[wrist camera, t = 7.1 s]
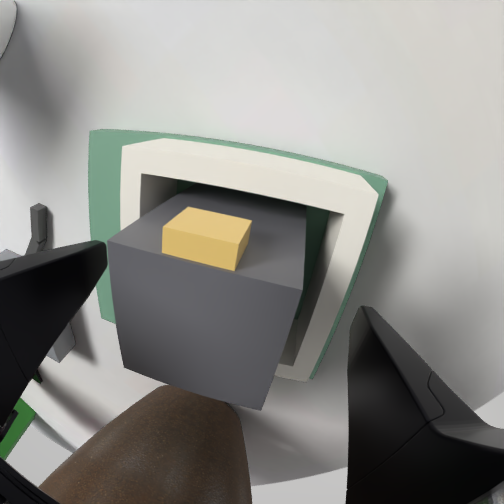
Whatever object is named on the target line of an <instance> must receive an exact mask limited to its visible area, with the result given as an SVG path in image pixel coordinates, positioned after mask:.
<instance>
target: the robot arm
mask: <svg viewBox="0 0 504 504" xmlns="http://www.w3.org/2000/svg"><path fill="white" fill-rule="evenodd" d="M107 265H108V258H107V246H106V244H105V242H102V241H99V240H93V241H88V242H83V243H78V244H74V245H69V246H64V247H60V248H55V249H50V250H46V251H41V252H37V253H33V254H28V255H24V256H20V257H17V258H11V259H7V260H3V261H0V443H1V442H2V440H3V439H4V437H5V436H6V434H7V432H8V430H9V429H10V427H11V425H12V424H13V422H14V420H15V419H16V417H17V415H18V414H19V413H18V412H17V411H16V410H15V409H14V407H15V405H16V403H17V402H18V400H19V398H20V397H21V395H22V393H23V392H24V390H25V388H26V387H27V385H28V383H29V382H30V381H31V379H34V380H35V381H37V382H38V383H40V384H41V382H42V379H41V377H40V375H39V373H38V371H37V369H38V367H39V366H40V364H41V363H42V361H43V360H44V358H45V357H46V355H47V354H48V352H49V351H50V349H51V348H52V346H53V345H54V343H55V342H56V340H57V339H58V338H59V336H60V335H61V333H62V332H63V331H64V329H65V328H66V326H67V325H68V324H69V322H70V321H71V320H72V318H73V317H74V315H75V314H76V313H77V311H78V310H79V309H80V307H81V306H82V305H83V304H84V302H85V301H86V299H87V298H88V297H89V295H90V294H91V292H92V290H93V289H94V287H95V286H96V284H97V282H98V281H99V279H100V278H101V276H102V275H103V273H104V272H105V270H106V268H107ZM347 373H348V410H349V442H348V476H347V491H346V504H504V429H500V428H495V427H493V426H490V425H488V424H487V423H485V422H484V421H483V420H482V419H481V418H480V417H479V416H478V415H477V414H476V413H474V411H472V410H471V409H470V408H469V407H468V406H467V405H466V404H465V403H464V402H463V401H462V400H461V399H460V398H459V397H458V396H457V395H456V394H455V393H454V392H453V391H452V390H451V389H450V388H449V387H448V386H447V385H446V384H445V383H444V382H443V381H442V380H441V379H440V378H439V377H438V376H437V374H436V373H435V372H434V371H432V369H431V368H430V367H429V366H428V365H427V364H426V363H425V361H424V360H423V359H422V358H421V357H420V356H419V355H418V354H417V353H416V352H415V351H414V350H413V349H412V348H411V347H410V346H409V344H408V343H407V342H406V341H405V340H404V339H403V338H402V337H401V336H400V335H399V334H398V333H397V332H396V331H395V330H394V329H393V328H392V327H391V326H390V325H389V324H388V323H387V322H386V321H385V320H384V319H383V318H382V317H381V316H380V315H379V314H378V313H377V312H376V311H375V310H374V309H373V308H372V307H368V306H360V307H359V309H358V311H357V313H356V316H355V318H354V320H353V322H352V325H351V328H350V337H349V353H348V369H347ZM0 504H61V503H60V502H58V501H57V500H55V499H54V498H52V497H51V496H49V495H48V494H46V493H45V492H44V491H42V490H41V489H40V488H38V487H37V486H35V485H34V484H33V483H32V482H30V481H29V480H28V479H26V478H25V477H24V476H23V475H21V474H20V473H19V472H18V471H17V470H15V469H14V468H13V467H12V466H11V465H10V464H8V463H7V462H6V461H5V460H4V459H3V458H2V457H1V456H0Z"/></svg>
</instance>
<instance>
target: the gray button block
mask: <svg viewBox="0 0 504 504" xmlns="http://www.w3.org/2000/svg"><path fill="white" fill-rule="evenodd" d="M30 213H31V232H32V238H31V240H30V243H29V246H28V248H27V251H26V254H25V255H28V254H33V253H37V252H41V251H42V249H43V247H44V245H45V242H46V238H47V226H46V206H44V205H41V204H39V203H38V204H36V205H34V206H32V207H30ZM17 257H20V255H18V254H16V253H14V252H11V251H9V250H7V249H5V250H4V251H2V252H1V253H0V261H3V260H7V259H11V258H17ZM75 344H76V343H75V339H74V336H73V333H72V329H71V326H70V322H69V324H68V325H67V326H66V328H65V329H64V331H63V332H62V333H61V335H60V336H59V338H58V339H57V340H56V342H55V343H54V345H53V346H52V348H51V349H50V351H49V352H48V354H47V356H48V357H50V358H51V359H53V360H55V361H57V362H58V363H60V362H61V361H62V359H63V358H64V357H65V356H66V355H67V354H68V352H69V351H70V350H71V349H72V348H73V347H74V346H75Z"/></svg>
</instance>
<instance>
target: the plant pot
mask: <svg viewBox="0 0 504 504" xmlns="http://www.w3.org/2000/svg"><path fill="white" fill-rule="evenodd" d="M38 488H40V489H41V490H42V491H44V492H45V493H46V494H48V495H49V496H51V497H52V498H54V499H55V500H57V501H58V502H60V503H61V504H252V495H251V486H250V477H249V470H248V463H247V456H246V450H245V444H244V438H243V433H242V428H241V423H240V419H239V417H238V415H237V414H236V413H235V412H234V410H233V409H232V408H231V407H230V406H228V405H227V404H226V403H224V402H223V401H220V400H216V399H213V398H209V397H206V396H203V395H199V394H196V393H193V392H190V391H187V390H184V389H181V388H178V387H175V386H172V385H165V386H161V387H158V388H157V389H155V390H154V391H152V392H151V393H149V394H148V395H146V396H145V397H143V398H142V399H141V400H139V401H138V402H136V403H135V404H134V405H132V406H131V407H129V408H128V409H127V410H126V411H124V412H123V413H122V414H120V415H119V416H118V417H116V418H115V419H114V420H112V421H111V422H110V423H109V424H107V425H106V426H105V427H103V428H102V429H101V430H100V431H99V432H97V433H96V434H95V435H94V436H93V437H91V438H90V439H89V440H88V441H87V442H86V443H85V444H83V445H82V446H81V447H80V448H79V449H78V450H76V451H75V452H74V453H73V454H72V455H71V456H70V457H69V458H68V459H67V460H66V461H65V462H63V463H62V464H61V465H60V466H59V467H58V468H57V469H56V470H55V471H54V472H53V473H52V474H51V475H50V476H49V477H48V478H47V479H46V480H45V481H44V482H43V483H42V484H41V485H40V486H39V487H38Z"/></svg>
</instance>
